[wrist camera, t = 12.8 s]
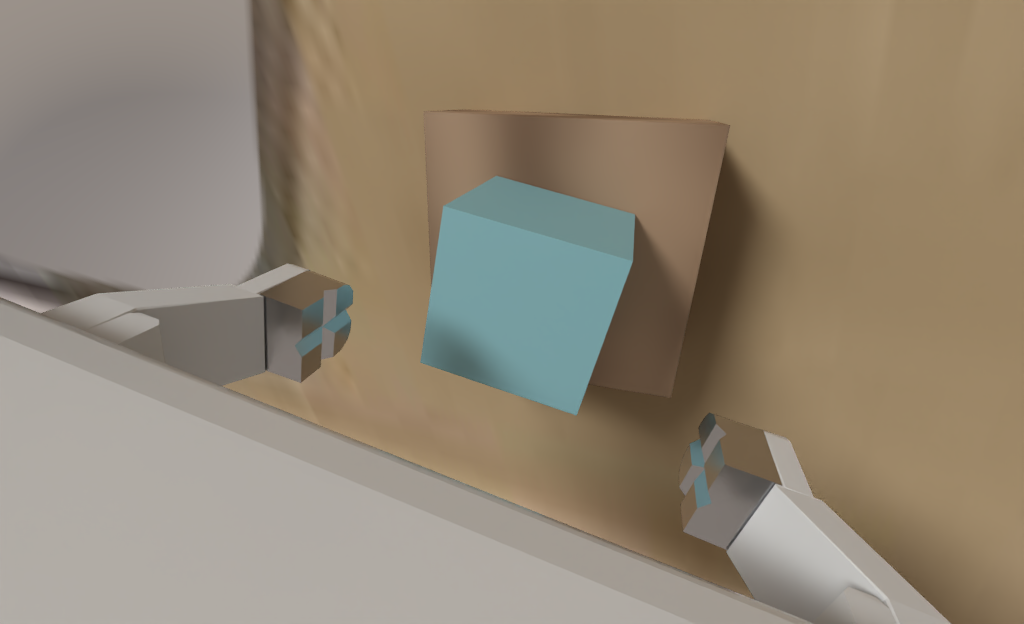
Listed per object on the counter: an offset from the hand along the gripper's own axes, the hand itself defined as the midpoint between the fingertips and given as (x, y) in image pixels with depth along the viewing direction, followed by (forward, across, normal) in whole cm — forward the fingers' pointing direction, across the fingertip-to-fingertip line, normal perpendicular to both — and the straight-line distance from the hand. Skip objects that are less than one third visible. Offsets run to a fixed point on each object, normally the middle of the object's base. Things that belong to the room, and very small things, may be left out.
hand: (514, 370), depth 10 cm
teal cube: (+8, +1, 0) cm, 8 cm away
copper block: (+13, 0, 0) cm, 13 cm away
